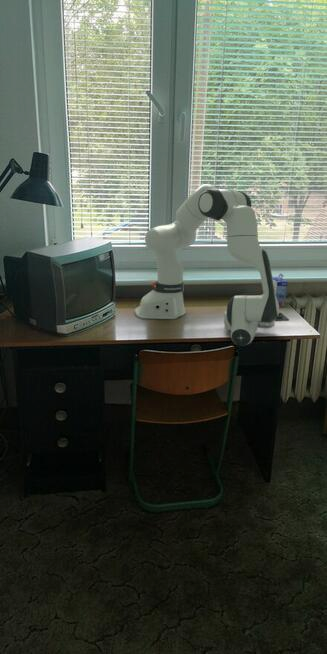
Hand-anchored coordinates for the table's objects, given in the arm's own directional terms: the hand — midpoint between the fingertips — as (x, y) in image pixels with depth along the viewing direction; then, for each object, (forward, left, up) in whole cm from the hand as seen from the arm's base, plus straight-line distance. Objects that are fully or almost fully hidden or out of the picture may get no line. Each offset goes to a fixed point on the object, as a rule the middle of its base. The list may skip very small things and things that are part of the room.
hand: (251, 313), depth 202 cm
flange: (+14, +9, -5) cm, 18 cm away
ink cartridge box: (+22, +28, -6) cm, 36 cm away
